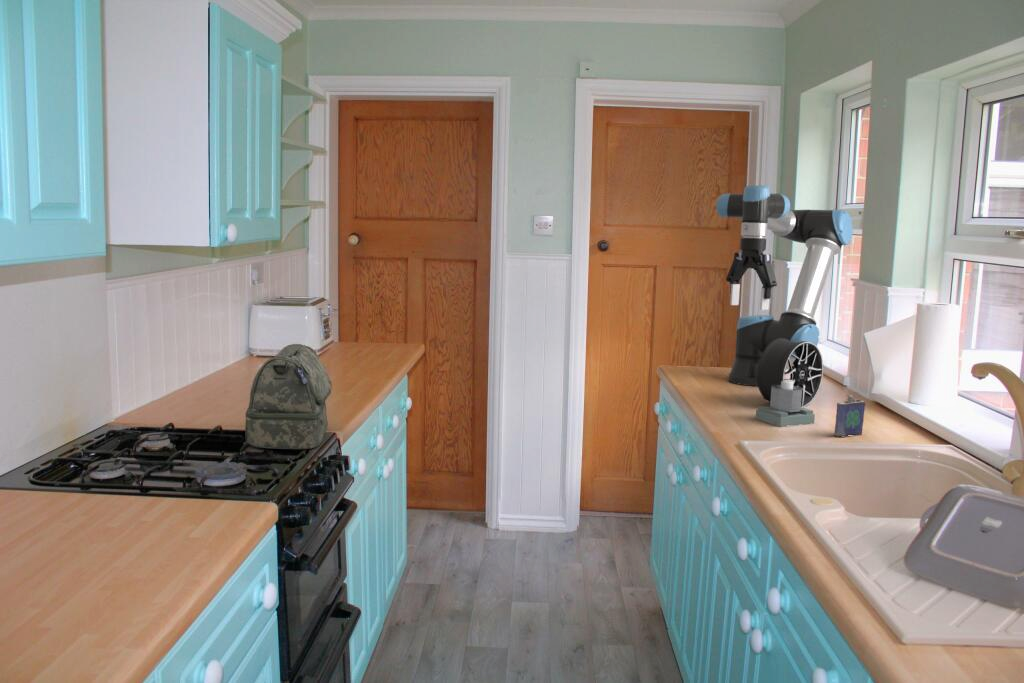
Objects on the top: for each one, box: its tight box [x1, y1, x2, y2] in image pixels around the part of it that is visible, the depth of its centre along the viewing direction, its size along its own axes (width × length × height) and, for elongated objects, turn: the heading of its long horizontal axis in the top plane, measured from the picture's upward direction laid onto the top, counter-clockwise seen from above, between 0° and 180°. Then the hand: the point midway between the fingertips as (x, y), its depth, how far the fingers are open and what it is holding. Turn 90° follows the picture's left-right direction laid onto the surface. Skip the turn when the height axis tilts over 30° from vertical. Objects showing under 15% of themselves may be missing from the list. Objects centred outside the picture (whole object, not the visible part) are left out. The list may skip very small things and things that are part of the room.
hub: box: [769, 384, 802, 412], centre depth 235 cm, size 8×8×6 cm
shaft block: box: [754, 381, 816, 427], centre depth 235 cm, size 12×10×11 cm
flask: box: [833, 394, 866, 437], centre depth 221 cm, size 9×3×11 cm, turn 117°
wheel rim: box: [757, 338, 824, 408], centre depth 255 cm, size 20×9×20 cm, turn 127°
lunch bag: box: [245, 343, 333, 450], centre depth 203 cm, size 26×18×22 cm
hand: (748, 307), depth 259 cm, fingers open, 13 cm apart
